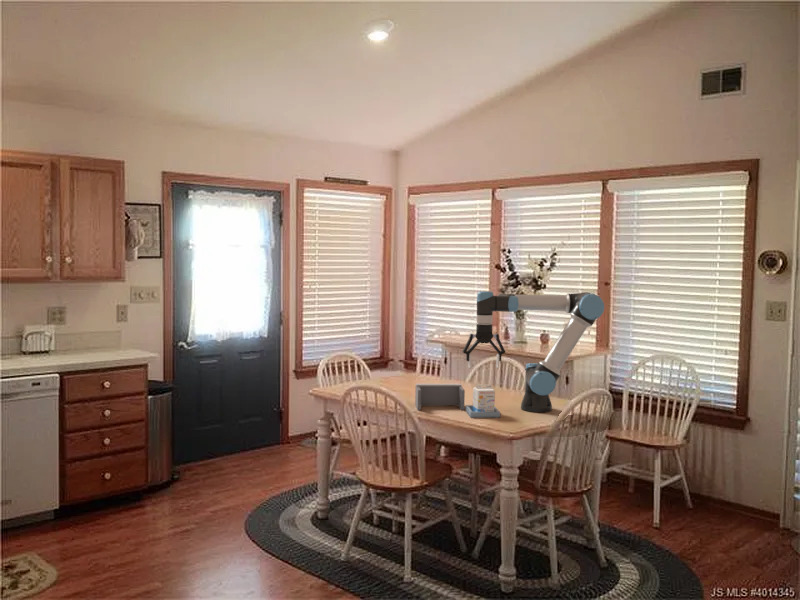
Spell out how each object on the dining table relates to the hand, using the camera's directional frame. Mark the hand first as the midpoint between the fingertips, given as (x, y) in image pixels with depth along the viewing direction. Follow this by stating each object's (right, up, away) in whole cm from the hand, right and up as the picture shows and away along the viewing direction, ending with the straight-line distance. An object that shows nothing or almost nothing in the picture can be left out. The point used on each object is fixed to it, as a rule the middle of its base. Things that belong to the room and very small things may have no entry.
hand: (483, 368), depth 340 cm
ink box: (0, -22, +2) cm, 22 cm away
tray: (0, -22, +2) cm, 22 cm away
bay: (-20, -21, +15) cm, 33 cm away
